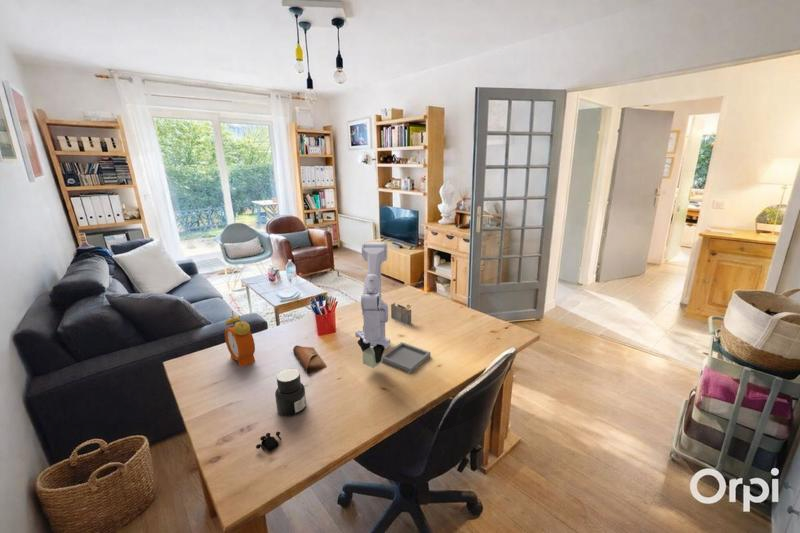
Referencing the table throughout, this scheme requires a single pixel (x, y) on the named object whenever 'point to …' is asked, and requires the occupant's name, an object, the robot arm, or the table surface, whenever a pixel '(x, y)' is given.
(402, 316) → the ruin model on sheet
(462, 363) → the table surface
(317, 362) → the sunglasses case
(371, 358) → the cube
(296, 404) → the ink bottle
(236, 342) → the alarm clock
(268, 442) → the black knobbed ornament
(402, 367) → the tray
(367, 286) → the robot arm
